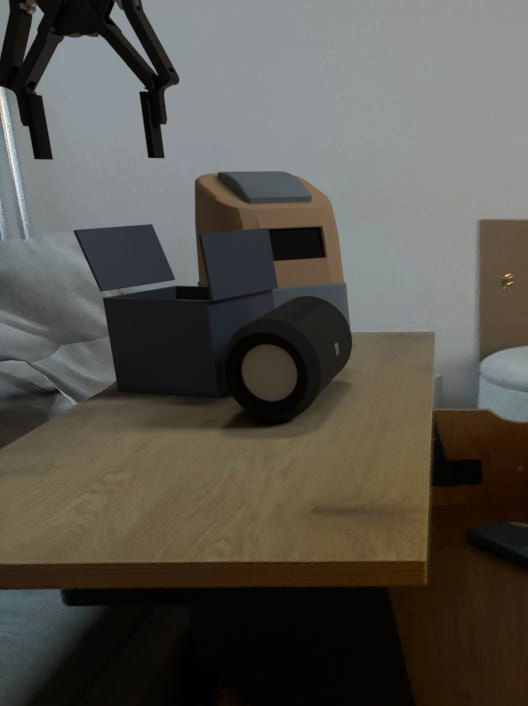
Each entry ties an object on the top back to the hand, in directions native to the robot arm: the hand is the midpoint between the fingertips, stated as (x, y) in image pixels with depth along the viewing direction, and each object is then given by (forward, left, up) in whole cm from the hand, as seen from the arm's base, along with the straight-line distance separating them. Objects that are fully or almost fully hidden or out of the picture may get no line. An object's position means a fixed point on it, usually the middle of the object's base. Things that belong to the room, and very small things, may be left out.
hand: (99, 159), depth 112 cm
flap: (+2, 0, -10) cm, 10 cm away
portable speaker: (+26, -6, -25) cm, 36 cm away
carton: (+10, 0, -24) cm, 26 cm away
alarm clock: (+9, +20, -25) cm, 33 cm away
